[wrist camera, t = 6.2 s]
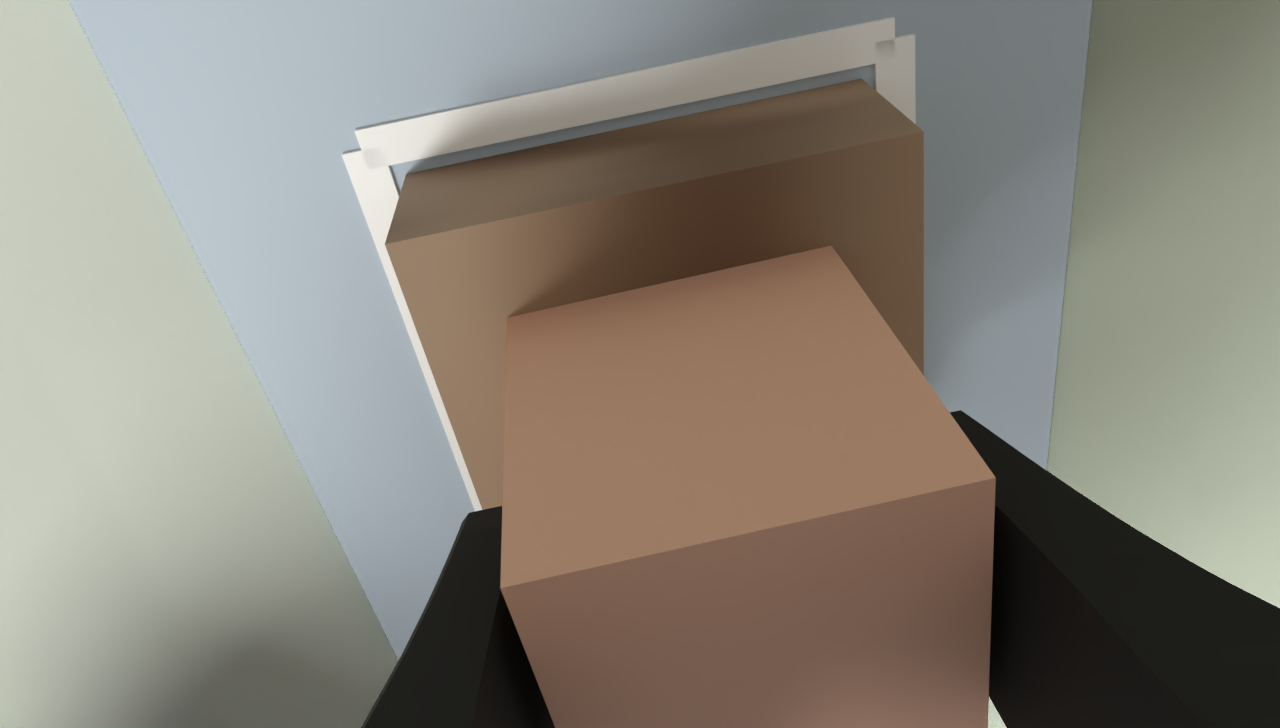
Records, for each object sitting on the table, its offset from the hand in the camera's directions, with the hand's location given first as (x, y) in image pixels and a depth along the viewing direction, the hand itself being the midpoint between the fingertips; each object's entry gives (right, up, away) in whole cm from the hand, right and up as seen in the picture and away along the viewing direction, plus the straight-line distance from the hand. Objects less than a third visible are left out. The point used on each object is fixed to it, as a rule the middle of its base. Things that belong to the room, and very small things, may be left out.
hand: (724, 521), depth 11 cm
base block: (-1, +3, +4) cm, 5 cm away
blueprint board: (-1, +3, +5) cm, 5 cm away
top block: (0, +1, +2) cm, 3 cm away
